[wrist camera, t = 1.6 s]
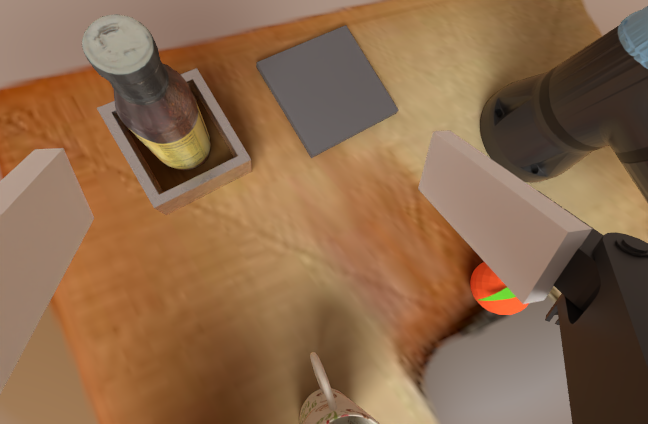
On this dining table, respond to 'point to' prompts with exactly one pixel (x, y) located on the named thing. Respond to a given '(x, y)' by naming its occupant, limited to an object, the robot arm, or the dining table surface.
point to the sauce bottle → (148, 91)
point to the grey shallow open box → (198, 184)
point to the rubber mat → (327, 89)
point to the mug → (330, 403)
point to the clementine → (493, 292)
